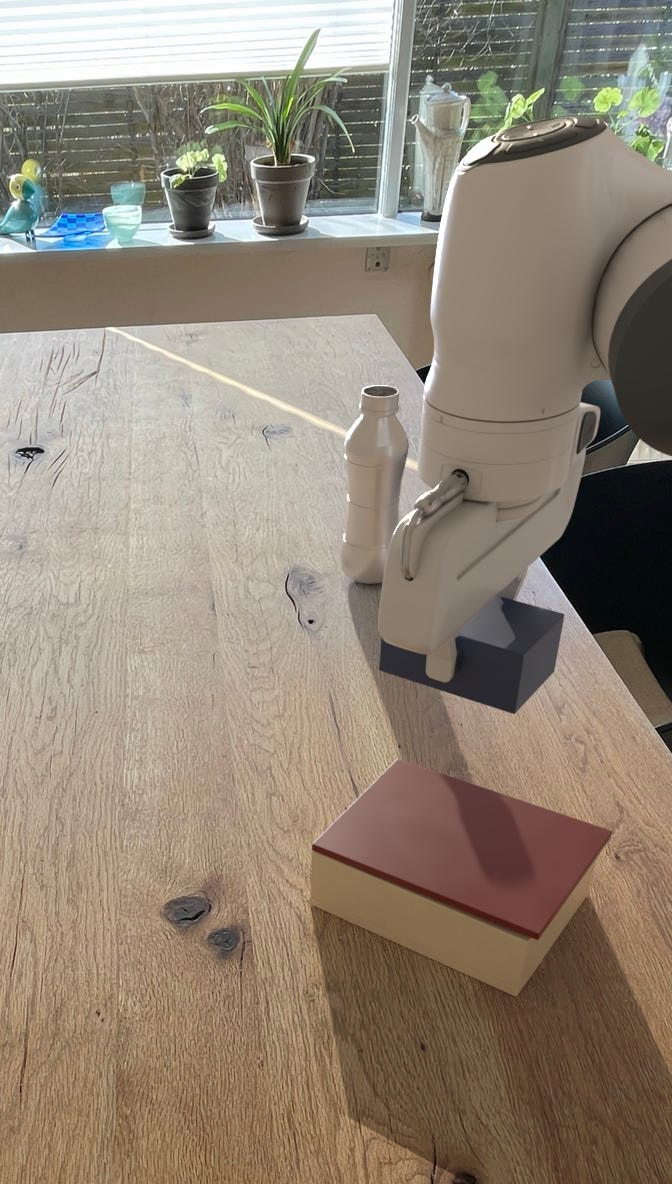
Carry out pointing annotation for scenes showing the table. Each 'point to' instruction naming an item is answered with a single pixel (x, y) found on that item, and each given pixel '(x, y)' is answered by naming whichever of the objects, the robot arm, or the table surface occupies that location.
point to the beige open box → (437, 924)
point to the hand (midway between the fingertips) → (469, 650)
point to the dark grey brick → (492, 655)
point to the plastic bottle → (373, 484)
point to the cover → (465, 846)
